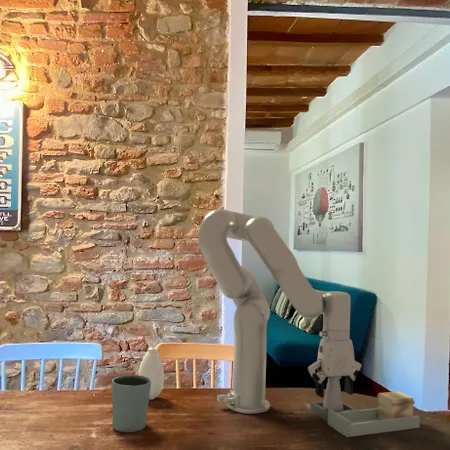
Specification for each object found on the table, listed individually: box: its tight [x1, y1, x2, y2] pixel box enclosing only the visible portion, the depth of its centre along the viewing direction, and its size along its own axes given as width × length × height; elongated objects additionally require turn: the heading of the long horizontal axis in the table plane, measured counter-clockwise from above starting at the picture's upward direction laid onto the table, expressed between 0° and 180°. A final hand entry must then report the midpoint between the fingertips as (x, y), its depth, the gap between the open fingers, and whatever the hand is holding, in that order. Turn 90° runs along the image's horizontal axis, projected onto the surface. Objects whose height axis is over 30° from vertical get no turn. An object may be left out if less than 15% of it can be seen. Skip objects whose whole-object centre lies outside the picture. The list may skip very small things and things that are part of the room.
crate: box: [376, 390, 416, 420], centre depth 144 cm, size 7×7×7 cm
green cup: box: [111, 374, 151, 433], centre depth 137 cm, size 10×10×12 cm
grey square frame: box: [310, 400, 358, 422], centre depth 150 cm, size 10×10×2 cm
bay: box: [327, 407, 421, 438], centre depth 142 cm, size 23×9×4 cm, turn 111°
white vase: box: [137, 339, 165, 401], centre depth 159 cm, size 8×8×18 cm
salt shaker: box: [323, 376, 343, 411], centre depth 150 cm, size 6×6×13 cm
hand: (334, 394), depth 150 cm, fingers open, 9 cm apart
